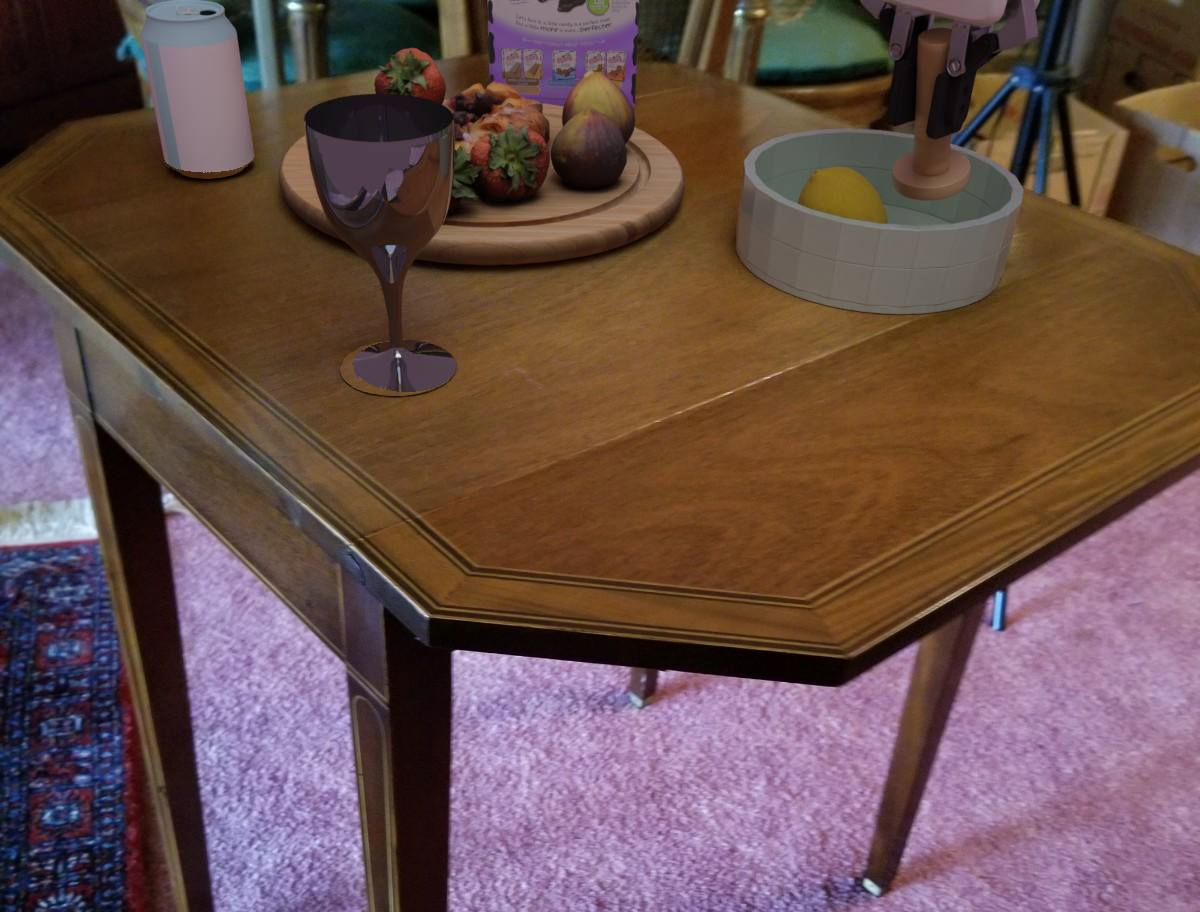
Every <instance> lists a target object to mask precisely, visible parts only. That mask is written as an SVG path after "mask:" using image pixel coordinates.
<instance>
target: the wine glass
mask: <svg viewBox="0 0 1200 912" xmlns="http://www.w3.org/2000/svg"><path fill="white" fill-rule="evenodd" d="M303 125H304V136H306V145H307V151H308V157H309V163H310V169H311V172H312V176H313V180H314V184H315V187H316V191H317V195H318V197H319V200H320V203H321V206H322V209H323V211H324V214H325V216H326V218H327V220H328V222H329V224H330V225H331V226H332V228H333V229H334V230H335V231H336V232H337V234H338V235H339V236H340V237H341V238H342V239H343V240H344V241H345V244H347V245H348V246H349V247H350V248H351V249H353V250H354V251H355V252H356V253H357V255H359V256H360V257H361V258H362V259H363V260H364V261H365V262H366V263H367V265H369V267H370V268H371V269H372V271H373V272H374V274H375V276H376V277H377V279H378V281H379V284H380V287H381V292H382V295H383V300H384V304H385V309H386V315H387V322H388V333H389V340H390V341H389V342H383V343H378V344H375V345H371V346H370V347H368V348H366V349H365V350H363V351H362V350H361V352H360V353H359V354H357V355H356V356H355V359H354V361H353V363H352V366H353V365H354V372H355V374H356V376H357V378H358V377H359V376H360V377H361V378H362V379H363V380H364V381H366V382H367V383H369V384H371V385H373V386H375V387H378V388H380V387H381V386H382V389H384V388H385V387H386V390H388V389H389V390H390V391H391V390H392V391H397V392H416V391H423V390H428V389H432V388H434V387H437V386H439V385H441V384H442V383H444V382H446V381H447V380H448V379H449V378H450V379H451V378H452V376H453V375H454V373H455V372H456V373H457V370H456V369H457V368H458V363H457V361H456V359H455V357H454V356H453V355H452V353H451V352H449V351H448V350H447V349H445V348H443V347H442V346H439V345H436V344H434V343H432V342H428V341H424V340H417V341H415V340H416V339H407V340H403V339H404V336H403V322H402V319H403V318H402V317H403V316H402V314H403V313H402V311H403V310H402V308H403V291H404V285H405V280H406V277H407V274H408V271H409V269H410V268H411V266H412V265H413V263H414V261H415V260H416V259H415V258H416V257H417V256H418V255H419V254H420V252H421V251H422V250H423V249H424V248H425V246H426V245H427V244H428V243H429V242H430V241H431V239H432V238H433V237H434V236H435V235H436V234H437V232H438V231H439V229H440V228H441V226H442V224H443V223H444V220H445V218H446V215H447V212H448V209H449V204H450V199H451V194H452V188H453V179H454V170H455V134H454V117H453V114H452V112H451V111H450V110H449V109H448V108H447V107H445V106H444V105H442V104H440V103H437V102H435V101H432V100H428V99H425V98H420V97H415V96H408V95H400V94H376V93H363V94H362V93H361V94H353V95H347V96H340V97H336V98H332V99H328V100H325V101H322V102H319V103H318V104H316V105H314V106H312V107H311V108H309V109H308V110H307V111H306V113H305V114H304V116H303ZM344 241H343V242H344ZM423 341H424V342H423ZM427 342H428V343H427ZM430 343H431V344H430ZM352 366H351V367H352ZM456 366H457V367H456ZM456 373H455V374H456ZM454 376H455V375H454ZM454 376H453V377H454ZM450 379H449V380H450ZM452 379H453V378H452ZM452 379H451V380H452ZM451 380H450V381H451Z"/></svg>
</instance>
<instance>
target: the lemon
mask: <svg viewBox="0 0 1200 912" xmlns="http://www.w3.org/2000/svg"><path fill="white" fill-rule="evenodd" d="M798 204H800V205H802V206H805V207H807V208H810V209H813V210H817V211H820V212H824V213H828V214H832V215H835V216H839V217H843V218H848V219H854V220H861V221H867V222H873V223H880V224H887V214H886V210H885V207H884V205H883V202H882V200H881V198H880V196H879V194H878V192H877V191H876V189H875V188H874V187H873V186H872V184H871V183H870V182H869V181H868V180H867V179H866V178H865V177H863V176H862V175H861V174H859V173H858V172H856V171H855V170H853V169H850V168H846V167H829V168H826V169H823V170H820V169H817V170H815V171H813V172H812V173H811V176H810V179H809V180H808V181H807V182H806V184H805V185H804V187H803V189H802V191H801V194H800V197H799V201H798Z"/></svg>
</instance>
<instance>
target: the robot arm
mask: <svg viewBox="0 0 1200 912" xmlns="http://www.w3.org/2000/svg"><path fill="white" fill-rule="evenodd" d="M859 2H860V4H861V5H862V6H863V8H864V9H866V10H867V11H868V13H870V15H872V16H873V17H874V18H875V19H876V20H878V22H879V25H880V27H881V29H882V31H883V33H884V36H885V37H886V40H887V41H888V42H887V43H888V47H887V52H888V53H887V54H888V55H889V58H891V59H892V60H894V64H893V71H892V77H891V83H890V89H889V95H888V101H887V102H888V111H887V117H886V124H887V125H889V126H892V127H899V126H902V125H905V124H907V123H912V122H915V103H916V76H917V49H918V37H919V35H920V34H921V33H922V32H924V31H926V30H929V29H932V28H934V24H935V19H936V17H940V18H944V19H947V20H952V25H951V29H952V32H951V38H950V45H949V51H948V58H947V64H946V72H943V73H940V74H938V76H937V77H936V80H935V85H934V91H933V96H932V101H931V107H930V112H929V117H928V122H927V128H926V134H927V136H928V137H929V138H932V139H935V140H936V139H939V138H942V137H945V136H948V135H951V136H952V135H953V134H957V133H959V132H960V131H961V129H963V124H964V123H965V122H966V121H967V118H968V114H969V111H970V106H971V101H972V97H973V96H972V95H973V90H974V86H975V81H976V77H977V72H978V71H979V70H982V69H984V68H985V67H986V66H987V64H988V63H989V62H990V61H991V60H993V59H994V58H996V57H997V56H998V55H999V54H1001V53H1002V52H1003V51H1006V50H1010V49H1013V48H1017V47H1021V46H1023V45H1027V44H1030V43H1031V44H1032V43H1033V42H1035V41H1036V40H1037V39H1038V36H1039V26H1038V20H1037V12H1036V10H1037V8H1038V6H1039V4H1040V2H1041V0H859ZM1003 16H1005V19H1006V20H1005V24H1004V26H1002V27H1001V28H1000V29H997V30H994V28H995V23H997V22H999V21H1000V20H1001V19H1002V17H1003Z"/></svg>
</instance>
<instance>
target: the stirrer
mask: <svg viewBox="0 0 1200 912" xmlns="http://www.w3.org/2000/svg"><path fill="white" fill-rule="evenodd" d="M951 32H952V28H949V27H933V28H932V29H929V30H926V31H924V32H922V33H921V34H920V35H919V37H918V49H917V76H916V103H915V120H914V133H913V135H914V151H912V152H910V153H907V154H905V155H903V156H902V157H900V158H899V159H898V160H897V161H896V162H895V164H894V165H893V168H892V185H893V187H894V189H895V190H896V191H897V192H898V193H899V194H901V195H902V196H905V197H907V198H910V199H915V200H923V201H931V200H940V199H944V198H948V197H951V196H954V195H956V194H958V193H959V192H961V191H962V190H963V189H964V188H965V187H966V186H967V185H968V183H969V180H970V168H971V166H970V162H969V160H968V159H967V157H966V156H964V155H963V154H961V153H959V152H957V151H954V150H951V149H950V147H951V144H952V134H951V135H948V136H945V137H942V138H939V139H936V140H935V139H932V138H929V137H928V136H927V134H926V128H927V122H928V117H929V112H930V107H931V101H932V96H933V91H934V85H935V80H936V77H937V76H938V74H940V73H943V72H946V64H947V58H948V51H949V45H950V38H951Z"/></svg>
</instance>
